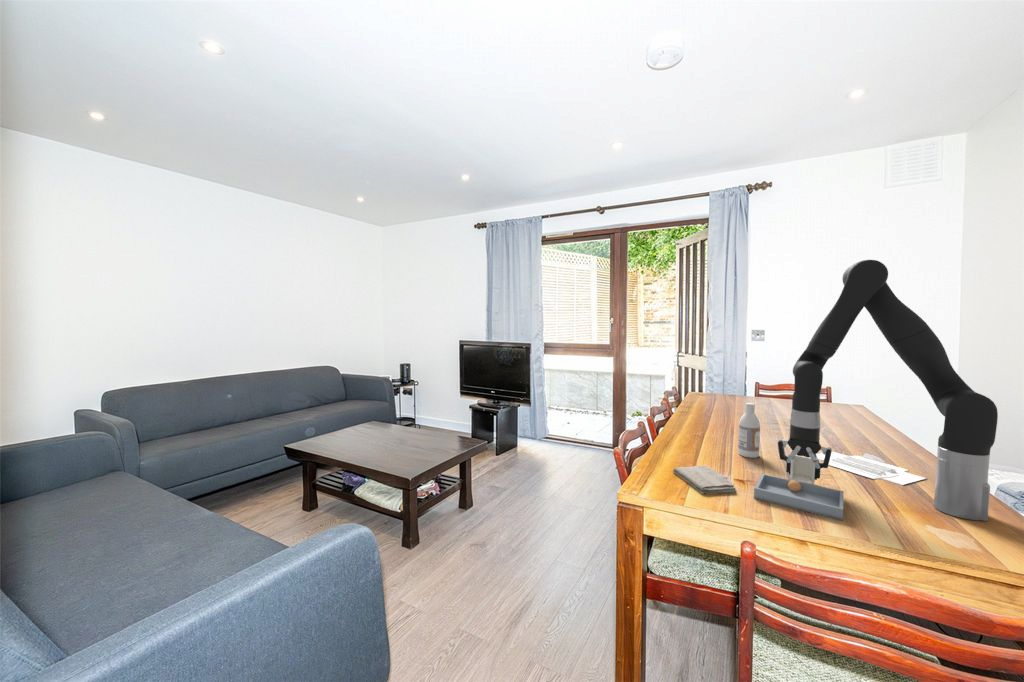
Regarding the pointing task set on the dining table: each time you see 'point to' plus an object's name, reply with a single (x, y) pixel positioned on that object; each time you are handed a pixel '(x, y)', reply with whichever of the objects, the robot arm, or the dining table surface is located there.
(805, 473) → the white cube stool
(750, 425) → the bath foam
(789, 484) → the ball
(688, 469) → the washcloth
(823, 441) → the dining table surface
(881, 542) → the dining table surface
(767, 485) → the tray
